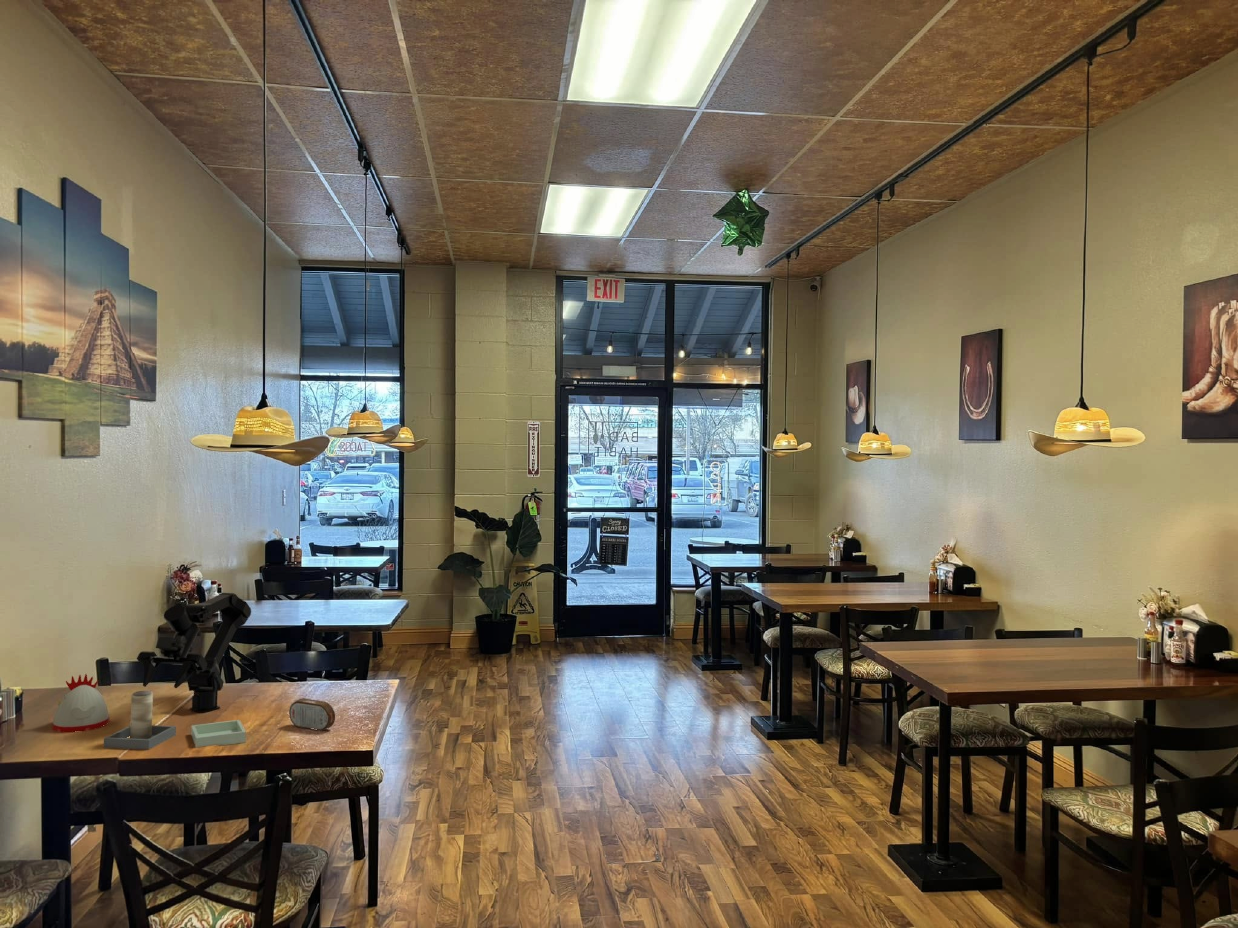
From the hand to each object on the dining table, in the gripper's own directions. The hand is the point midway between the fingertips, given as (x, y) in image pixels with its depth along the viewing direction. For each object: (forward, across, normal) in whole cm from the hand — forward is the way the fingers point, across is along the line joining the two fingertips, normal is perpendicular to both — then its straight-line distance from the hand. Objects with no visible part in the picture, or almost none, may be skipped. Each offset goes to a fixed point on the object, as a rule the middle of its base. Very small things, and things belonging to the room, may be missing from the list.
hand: (159, 686), depth 239 cm
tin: (+2, +40, +18) cm, 44 cm away
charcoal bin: (+15, 0, +4) cm, 16 cm away
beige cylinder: (+15, 0, +4) cm, 15 cm away
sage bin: (+11, +19, +8) cm, 23 cm away
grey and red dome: (+7, -26, +13) cm, 30 cm away
